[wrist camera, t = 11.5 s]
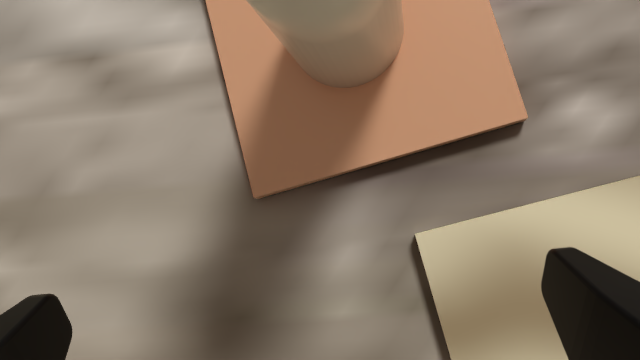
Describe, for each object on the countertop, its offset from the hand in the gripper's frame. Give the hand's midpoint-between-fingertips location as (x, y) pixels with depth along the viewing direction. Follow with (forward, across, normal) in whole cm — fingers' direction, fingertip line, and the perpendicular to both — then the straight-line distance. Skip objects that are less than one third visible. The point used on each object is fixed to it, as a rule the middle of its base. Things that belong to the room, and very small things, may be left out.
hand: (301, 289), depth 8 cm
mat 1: (+13, -2, -2) cm, 14 cm away
